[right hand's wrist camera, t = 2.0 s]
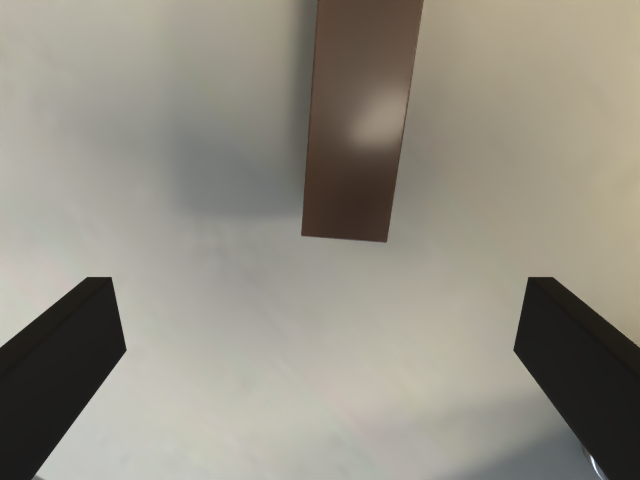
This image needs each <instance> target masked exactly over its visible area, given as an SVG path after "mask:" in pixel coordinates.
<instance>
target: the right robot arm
mask: <svg viewBox="0 0 640 480" xmlns="http://www.w3.org/2000/svg"><path fill="white" fill-rule="evenodd" d="M126 351H127V350H126V345H125V340H124V335H123V331H122V326H121V321H120V316H119V311H118V306H117V301H116V297H115V292H114V287H113V282H112V277H87V278H86V279H84V280H83V281H82V282H81V283H79V284H78V285H77V286H76V287H74V288H73V289H72V290H71V291H70V292H68V293H67V294H66V295H65V296H63V297H62V298H61V299H60V300H58V301H57V302H56V303H55V304H54V305H52V306H51V307H50V308H49V309H47V310H46V311H45V312H44V313H42V314H41V315H40V316H39V317H38V318H36V319H35V320H34V321H33V322H31V323H30V324H29V325H28V326H26V327H25V328H24V329H23V330H22V331H20V332H19V333H18V334H17V335H15V336H14V337H13V338H12V339H10V340H9V341H8V342H7V343H6V344H4V345H3V346H2V347H1V348H0V480H31V479H32V478H33V477H34V475H35V474H36V473H37V471H38V470H39V469H40V467H41V466H42V465H43V463H44V462H45V460H46V459H47V458H48V456H49V455H50V454H51V452H52V451H53V450H54V448H55V447H56V446H57V444H58V443H59V441H60V440H61V439H62V437H63V436H64V435H65V433H66V432H67V431H68V429H69V428H70V427H71V425H72V424H73V422H74V421H75V420H76V418H77V417H78V416H79V414H80V413H81V412H82V410H83V409H84V408H85V406H86V405H87V403H88V402H89V401H90V399H91V398H92V397H93V395H94V394H95V393H96V391H97V390H98V389H99V387H100V386H101V384H102V383H103V382H104V380H105V379H106V378H107V376H108V375H109V374H110V372H111V371H112V370H113V368H114V367H115V365H116V364H117V363H118V361H119V360H120V359H121V357H122V356H123V355H124V353H125V352H126ZM513 351H514V352H515V353H516V355H517V356H518V357H519V359H520V360H521V361H522V363H523V364H524V365H525V367H526V368H527V370H528V371H529V372H530V374H531V375H532V376H533V378H534V379H535V380H536V382H537V383H538V384H539V386H540V387H541V389H542V390H543V391H544V393H545V394H546V395H547V397H548V398H549V399H550V401H551V402H552V403H553V405H554V406H555V408H556V409H557V410H558V412H559V413H560V414H561V416H562V417H563V418H564V420H565V421H566V422H567V424H568V425H569V427H570V428H571V429H572V431H573V432H574V433H575V435H576V436H577V437H578V439H579V440H580V441H581V443H582V448H583V452H584V454H585V456H586V458H587V460H588V461H589V463H590V464H591V465H592V467H593V468H594V470H595V471H596V472H597V474H598V475H599V477H600V478H601V479H602V480H640V348H639V347H638V346H637V345H636V344H634V343H633V342H632V341H631V340H630V339H628V338H627V337H626V336H625V335H623V334H622V333H621V332H620V331H618V330H617V329H616V328H615V327H614V326H612V325H611V324H610V323H609V322H607V321H606V320H605V319H604V318H602V317H601V316H600V315H599V314H598V313H596V312H595V311H594V310H593V309H591V308H590V307H589V306H588V305H586V304H585V303H584V302H583V301H582V300H580V299H579V298H578V297H577V296H575V295H574V294H573V293H572V292H570V291H569V290H568V289H567V288H566V287H564V286H563V285H562V284H561V283H559V282H558V281H557V280H556V279H554V278H553V277H528V282H527V287H526V292H525V297H524V301H523V306H522V311H521V316H520V321H519V326H518V331H517V335H516V340H515V345H514V350H513Z"/></svg>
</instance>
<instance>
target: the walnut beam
mask: <svg viewBox="0 0 640 480" xmlns="http://www.w3.org/2000/svg"><path fill="white" fill-rule="evenodd" d="M423 1H424V0H318V5H317V19H316V33H315V47H314V62H313V76H312V90H311V104H310V118H309V132H308V146H307V160H306V174H305V189H304V203H303V217H302V231H301V235H302V236H306V237H319V238H332V239H344V240H357V241H370V242H382V243H386V242H387V237H388V231H389V224H390V217H391V211H392V204H393V198H394V191H395V185H396V178H397V171H398V165H399V158H400V152H401V145H402V139H403V132H404V125H405V119H406V112H407V106H408V99H409V93H410V86H411V79H412V73H413V66H414V60H415V53H416V47H417V40H418V33H419V27H420V20H421V14H422V7H423Z"/></svg>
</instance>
